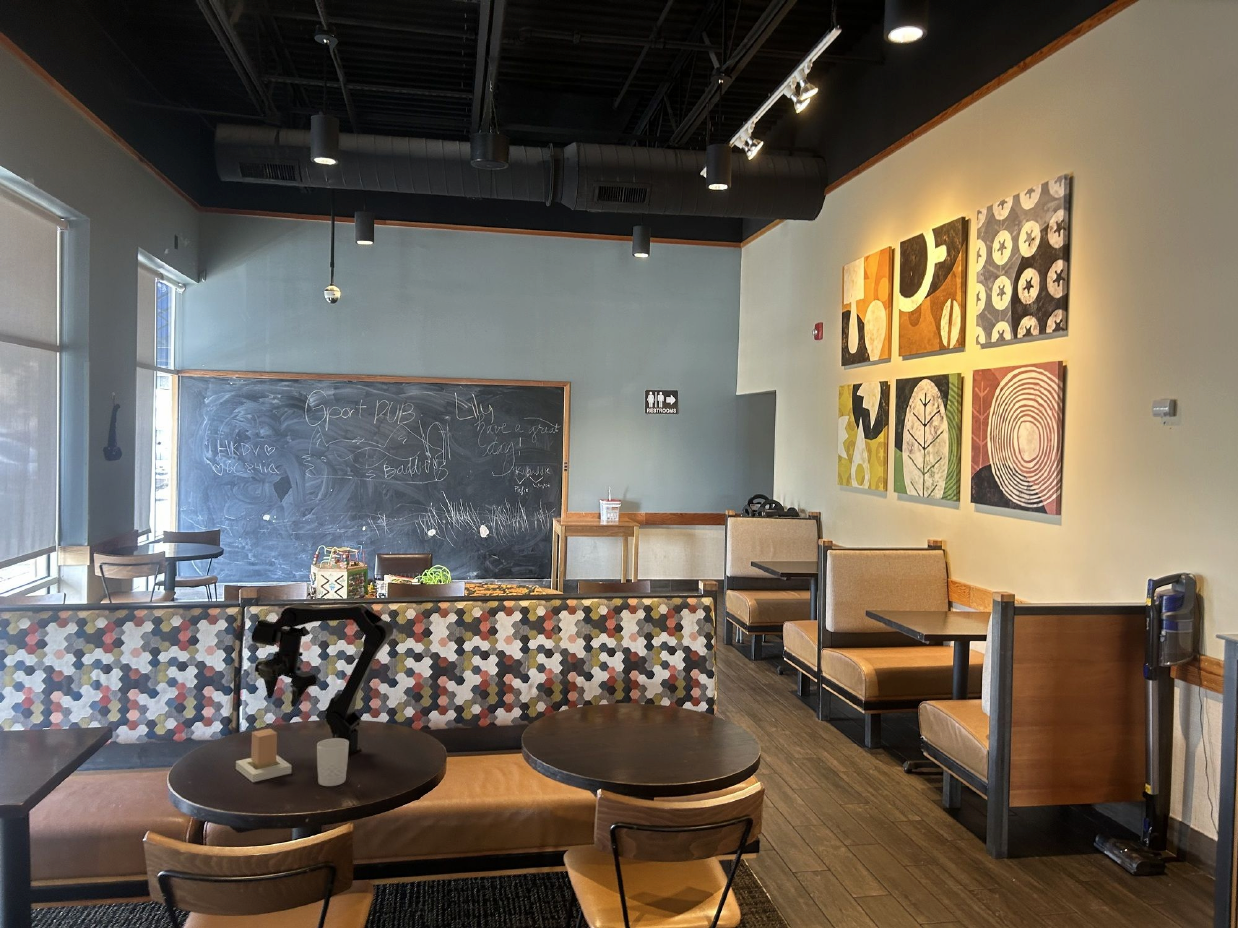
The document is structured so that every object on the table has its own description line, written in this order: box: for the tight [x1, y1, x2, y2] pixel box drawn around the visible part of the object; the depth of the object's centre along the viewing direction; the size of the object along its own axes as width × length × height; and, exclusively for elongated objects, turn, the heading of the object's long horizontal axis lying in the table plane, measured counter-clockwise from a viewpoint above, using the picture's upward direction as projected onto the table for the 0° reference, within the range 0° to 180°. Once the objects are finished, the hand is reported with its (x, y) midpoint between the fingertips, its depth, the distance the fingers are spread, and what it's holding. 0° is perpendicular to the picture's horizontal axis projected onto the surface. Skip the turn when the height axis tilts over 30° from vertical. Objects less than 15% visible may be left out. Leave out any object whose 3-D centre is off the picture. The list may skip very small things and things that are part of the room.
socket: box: [235, 755, 292, 783], centre depth 225 cm, size 10×12×2 cm
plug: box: [250, 728, 278, 770], centre depth 225 cm, size 5×5×10 cm
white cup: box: [316, 737, 349, 787], centre depth 220 cm, size 8×8×10 cm
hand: (281, 702), depth 242 cm, fingers open, 9 cm apart
